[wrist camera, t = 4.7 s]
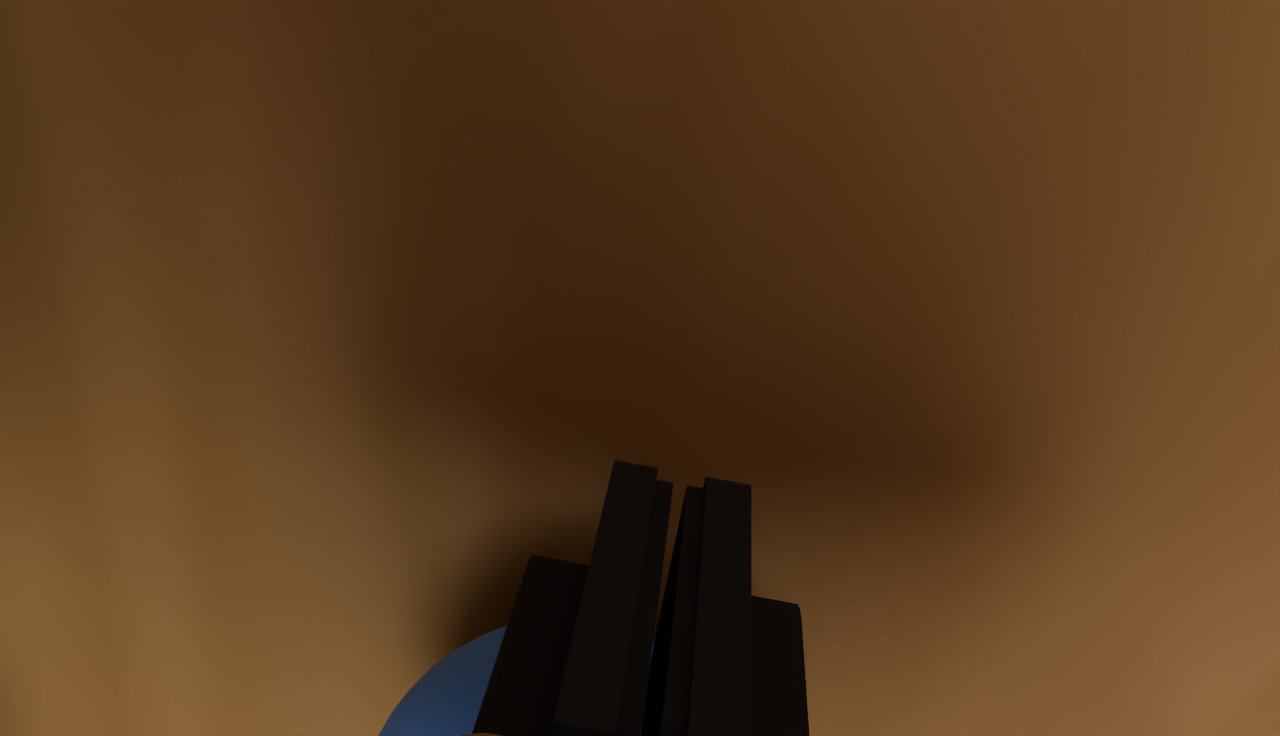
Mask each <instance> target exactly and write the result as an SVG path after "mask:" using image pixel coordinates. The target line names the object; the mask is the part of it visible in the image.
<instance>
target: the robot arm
mask: <svg viewBox="0 0 1280 736" xmlns="http://www.w3.org/2000/svg"><path fill="white" fill-rule="evenodd" d="M657 472H658V468H655V467H650V466H645V465H639V464H634V463H628V462H623V461H617V460H615V461H614V465H613V469H612V473H611V477H610V481H609V485H608V490H607V494H606V498H605V502H604V507H603V511H602V515H601V519H600V523H599V528H598V532H597V536H596V540H595V545H594V549H593V553H592V557H591V561H590V566H589V565H584V564H579V563H573V562H568V561H563V560H557V559H552V558H546V557H541V556H536V555H532V556H531V557H530V559H529V562H528V565H527V567H526V570H525V573H524V576H523V579H522V582H521V585H520V588H519V591H518V594H517V598H516V601H515V604H514V607H513V610H512V613H511V616H510V619H509V622H508V625H507V628H506V631H505V634H504V637H503V640H502V643H501V646H500V649H499V652H498V655H497V658H496V661H495V664H494V667H493V671H492V674H491V677H490V680H489V683H488V686H487V689H486V692H485V695H484V698H483V701H482V704H481V707H480V710H479V713H478V716H477V719H476V722H475V725H474V728H473V731H472V734H466V735H461V736H640V733H641V736H809V724H808V709H807V694H806V680H805V665H804V650H803V635H802V621H801V613H800V608H799V606H798V604H793V603H788V602H783V601H777V600H772V599H767V598H761V597H756V596H751V486H750V485H748V484H743V483H737V482H732V481H726V480H721V479H715V478H710V477H706V479H705V483H704V487H703V488H699V487H693V486H688V485H687V488H686V492H685V496H684V501H683V506H682V511H681V516H680V520H679V525H678V530H677V535H676V540H675V544H674V549H673V554H672V559H671V564H670V568H669V573H668V578H667V583H666V588H665V592H664V597H663V602H662V607H661V612H660V616H659V621H658V626H657V631H656V636H655V640H654V645H653V650H652V644H653V637H654V629H655V621H656V613H657V606H658V598H659V590H660V583H661V575H662V567H663V560H664V552H665V544H666V536H667V529H668V521H669V513H670V506H671V498H672V490H673V483H671V482H666V481H660V480H656V478H657ZM651 652H652V656H651ZM650 660H651V662H650ZM649 667H650V668H649ZM641 726H642V728H641Z"/></svg>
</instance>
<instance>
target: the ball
mask: <svg viewBox="0 0 1280 736" xmlns="http://www.w3.org/2000/svg"><path fill="white" fill-rule="evenodd" d="M506 628H507V626H504V627H501V628H499V629H496V630H493V631H491V632H488V633H486V634H483V635H481V636H479V637H477V638H475V639H473V640H472V641H470V642H468V643H466V644H464V645H463V646H461V647H459V648H457V649H456V650H454V651H453V652H452V653H450V654H449V655H448V656H446V657H445V658H444V659H442V660H441V661H440V662H438V663H437V664H436V665H434V666H433V667H432V668H431V669H430V670H429V671H428V672H427V673H426V674H425V675H424V676H423V677H422V678H421V679H420V680H419V681H418V682H417V683H416V684H415V685H414V686H413V687H412V688H411V689H410V690H409V691H408V692H407V694H406V695H405V696H404V698H403V699H402V700H401V701H400V703H399V704H398V705H397V707H396V708H395V709H394V711H393V712H392V713H391V715H390V717H389V719H388V720H387V722H386V724H385V726H384V727H383V729H382V731H381V732H380V734H379V736H461V735H466V734H472V731H473V728H474V725H475V722H476V719H477V716H478V713H479V710H480V707H481V704H482V701H483V698H484V695H485V692H486V689H487V686H488V683H489V680H490V677H491V674H492V671H493V667H494V664H495V661H496V658H497V655H498V652H499V649H500V646H501V643H502V640H503V637H504V634H505V631H506ZM653 645H654V642H653V644H652V650H653ZM651 656H652V652H651ZM650 662H651V660H650ZM649 668H650V667H649ZM641 728H642V726H641ZM640 736H641V733H640Z"/></svg>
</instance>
